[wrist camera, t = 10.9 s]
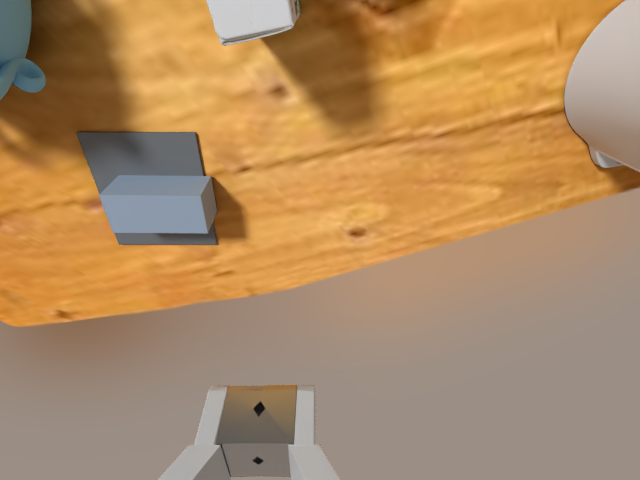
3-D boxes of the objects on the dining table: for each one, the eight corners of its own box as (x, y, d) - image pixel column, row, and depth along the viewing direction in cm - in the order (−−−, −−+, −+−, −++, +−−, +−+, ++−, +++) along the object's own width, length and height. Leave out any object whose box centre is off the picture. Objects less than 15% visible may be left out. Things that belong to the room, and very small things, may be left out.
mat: (195, 132, 38) (194, 133, 38) (217, 243, 46) (216, 244, 46) (77, 131, 38) (76, 132, 38) (120, 243, 46) (119, 244, 46)
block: (200, 195, 37) (98, 195, 37) (207, 233, 39) (113, 232, 39) (211, 176, 40) (118, 175, 40) (217, 211, 43) (130, 210, 43)
